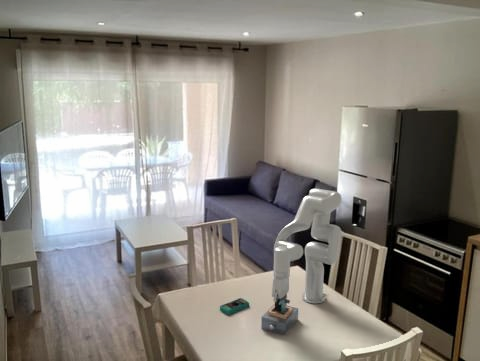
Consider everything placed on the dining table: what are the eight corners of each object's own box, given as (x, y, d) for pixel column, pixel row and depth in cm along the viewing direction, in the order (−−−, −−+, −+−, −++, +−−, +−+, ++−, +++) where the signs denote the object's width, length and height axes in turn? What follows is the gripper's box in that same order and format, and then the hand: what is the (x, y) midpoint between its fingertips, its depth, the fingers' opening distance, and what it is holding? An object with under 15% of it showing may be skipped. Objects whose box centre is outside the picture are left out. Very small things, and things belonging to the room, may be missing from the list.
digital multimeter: (250, 306, 225) (250, 301, 224) (228, 316, 215) (228, 310, 215) (241, 301, 230) (241, 296, 229) (219, 310, 221) (219, 305, 220)
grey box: (275, 313, 217) (275, 299, 216) (297, 319, 212) (298, 305, 210) (259, 330, 202) (259, 315, 200) (283, 337, 196) (283, 322, 195)
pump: (277, 306, 209) (278, 293, 208) (290, 310, 206) (291, 296, 205) (273, 311, 205) (273, 297, 204) (286, 314, 202) (287, 301, 200)
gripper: (281, 264, 211) (280, 299, 215) (266, 278, 197) (265, 314, 200) (296, 268, 208) (294, 302, 211) (281, 281, 193) (280, 318, 197)
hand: (280, 308), depth 206 cm, fingers open, 5 cm apart
